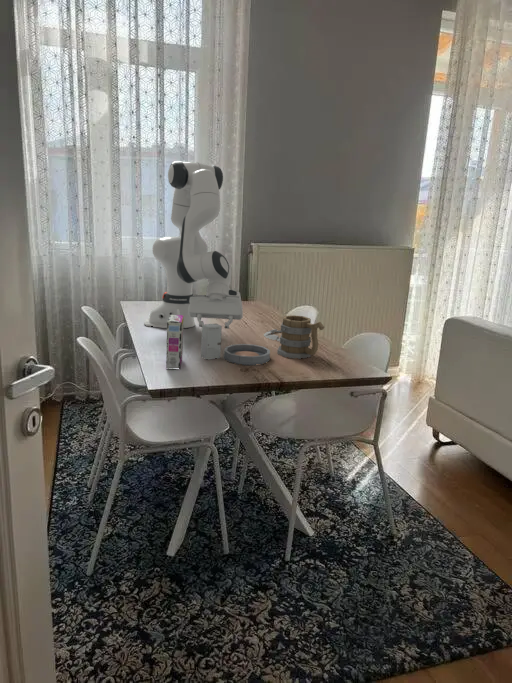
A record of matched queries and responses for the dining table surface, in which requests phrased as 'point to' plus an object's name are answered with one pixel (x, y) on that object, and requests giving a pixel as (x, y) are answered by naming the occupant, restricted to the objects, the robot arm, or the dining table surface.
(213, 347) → the grey upright block
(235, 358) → the round tray
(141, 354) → the dining table surface
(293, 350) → the tankard
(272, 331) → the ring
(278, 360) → the dining table surface
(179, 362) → the candy bar box
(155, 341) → the dining table surface
